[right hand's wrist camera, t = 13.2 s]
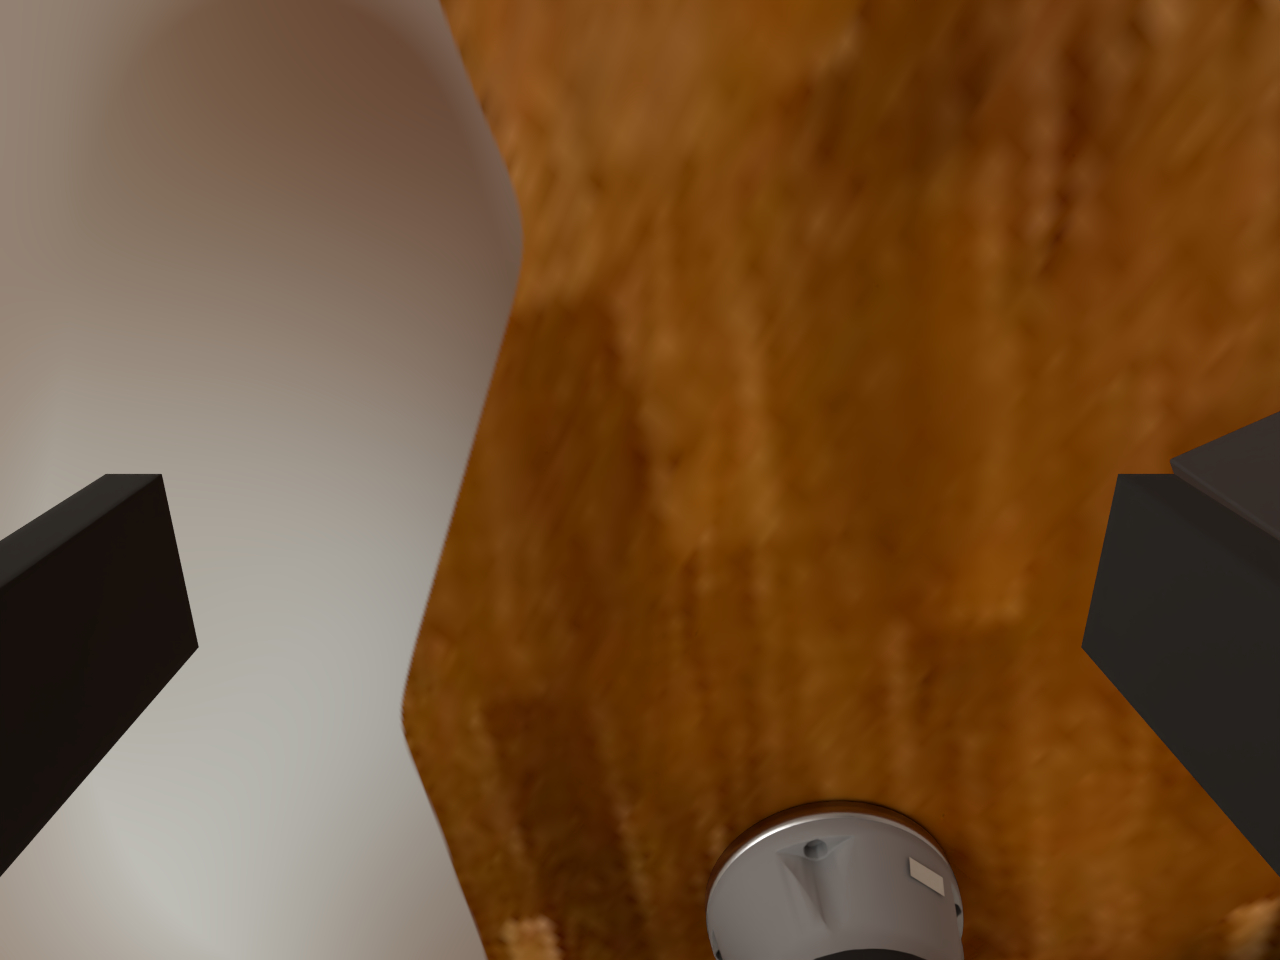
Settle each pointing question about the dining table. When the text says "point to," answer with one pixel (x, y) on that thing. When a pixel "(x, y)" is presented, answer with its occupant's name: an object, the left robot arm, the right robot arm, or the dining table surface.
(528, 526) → the dining table surface
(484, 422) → the dining table surface
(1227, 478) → the bar
